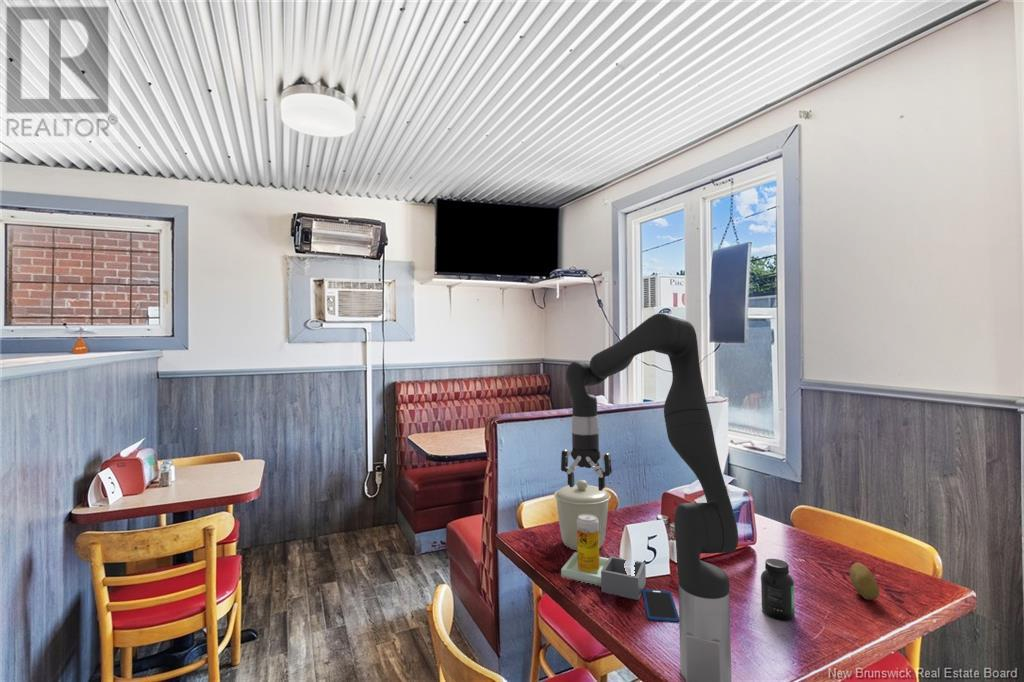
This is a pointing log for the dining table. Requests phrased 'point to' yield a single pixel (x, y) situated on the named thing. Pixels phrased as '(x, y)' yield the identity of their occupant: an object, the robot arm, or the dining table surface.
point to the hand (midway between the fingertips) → (586, 488)
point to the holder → (623, 579)
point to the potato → (864, 581)
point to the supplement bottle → (777, 590)
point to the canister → (581, 510)
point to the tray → (574, 572)
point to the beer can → (588, 543)
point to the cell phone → (660, 606)
